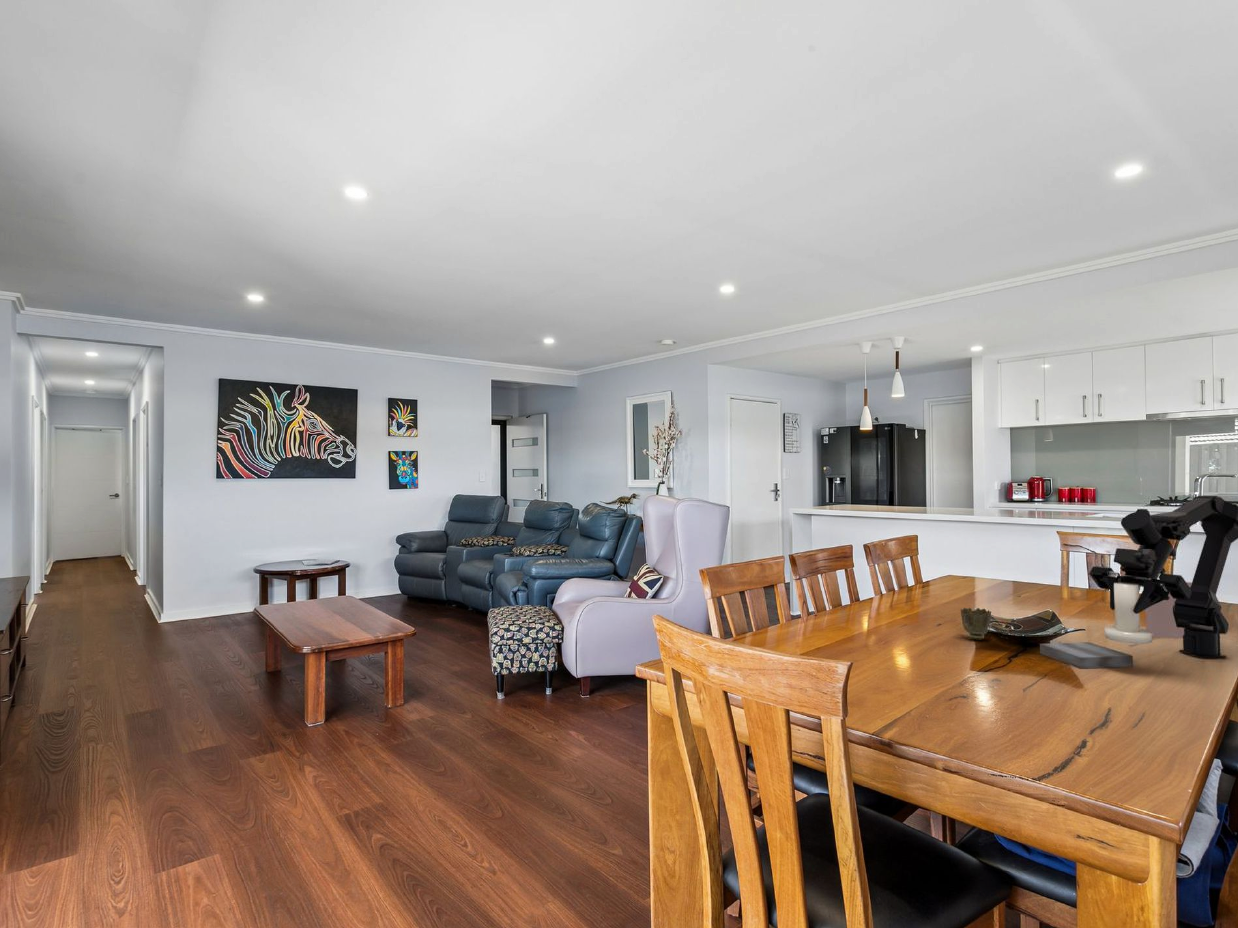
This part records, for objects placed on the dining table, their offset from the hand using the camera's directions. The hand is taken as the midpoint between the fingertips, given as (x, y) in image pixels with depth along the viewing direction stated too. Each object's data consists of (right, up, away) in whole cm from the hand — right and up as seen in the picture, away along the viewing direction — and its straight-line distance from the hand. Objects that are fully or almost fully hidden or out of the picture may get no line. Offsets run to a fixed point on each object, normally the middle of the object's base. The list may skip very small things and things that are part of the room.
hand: (1123, 610), depth 152 cm
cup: (-17, -15, +31) cm, 38 cm away
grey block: (-2, -14, +9) cm, 17 cm away
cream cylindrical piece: (+1, -7, 0) cm, 7 cm away
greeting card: (+36, -14, +30) cm, 49 cm away
